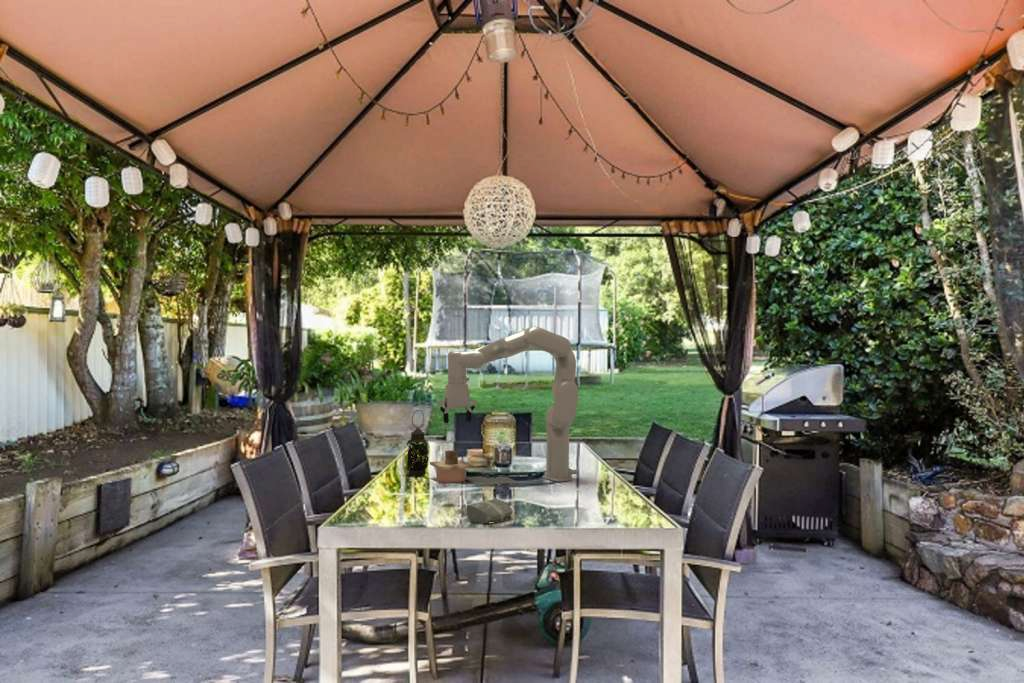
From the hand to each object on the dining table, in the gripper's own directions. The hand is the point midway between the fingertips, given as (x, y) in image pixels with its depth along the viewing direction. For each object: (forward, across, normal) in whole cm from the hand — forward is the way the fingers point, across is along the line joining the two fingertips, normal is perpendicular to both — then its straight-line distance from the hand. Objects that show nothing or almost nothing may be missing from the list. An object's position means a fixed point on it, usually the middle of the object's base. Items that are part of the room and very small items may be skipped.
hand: (457, 422), depth 299 cm
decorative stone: (+25, +16, +67) cm, 73 cm away
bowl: (+24, +4, +2) cm, 24 cm away
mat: (+24, -11, +8) cm, 28 cm away
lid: (+18, +3, +2) cm, 18 cm away
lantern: (+24, +11, -18) cm, 32 cm away
